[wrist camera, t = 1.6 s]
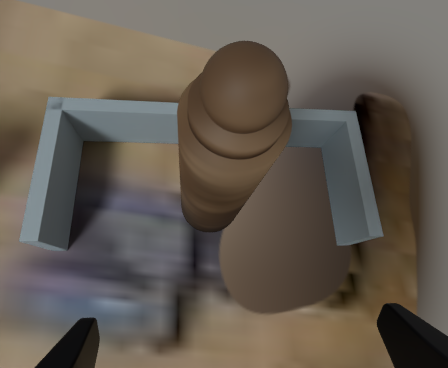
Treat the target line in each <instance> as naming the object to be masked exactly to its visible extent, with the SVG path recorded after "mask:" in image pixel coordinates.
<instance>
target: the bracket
mask: <svg viewBox="0 0 448 368" xmlns="http://www.w3.org/2000/svg"><path fill="white" fill-rule="evenodd" d="M178 104H179V103H170V102H148V101H127V100H105V99H84V98H62V97H49V98H48V103H47V108H46V113H45V117H44V122H43V127H42V132H41V137H40V142H39V147H38V152H37V156H36V161H35V166H34V171H33V176H32V181H31V186H30V191H29V195H28V200H27V205H26V210H25V215H24V220H23V225H22V230H21V234H20V239H19V242H23V243H26V244H30V245H34V246H37V247H41V248H45V249H48V250H52V251H63V250H68V243H69V236H70V229H71V223H72V216H73V209H74V202H75V195H76V189H77V182H78V175H79V168H80V161H81V155H82V148H83V141H105V142H140V143H176V144H178V124H177V108H178ZM289 110H290V113H291V118H292V130H291V135H290V138H289V141H288V143H287V145H286V146H285V147H317V148H318V147H319V148H321V151H322V156H323V162H324V168H325V175H326V181H327V187H328V193H329V199H330V205H331V211H332V217H333V223H334V230H335V236H336V242H337V245H351V244H355V243H359V242H362V241H366V240H370V239H374V238H378V237H382V236H383V232H382V227H381V223H380V218H379V214H378V209H377V205H376V200H375V196H374V191H373V187H372V182H371V178H370V173H369V169H368V164H367V160H366V155H365V151H364V146H363V142H362V137H361V133H360V128H359V124H358V119H357V115H356V111H342V110H320V109H299V108H289Z"/></svg>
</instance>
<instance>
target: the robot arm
mask: <svg viewBox="0 0 448 368" xmlns="http://www.w3.org/2000/svg"><path fill="white" fill-rule="evenodd" d="M377 327H378V330H379V333H380V335H381V337H382V340H383V342H384V344H385V346H386V349H387V351H388V353H389V356H390V358H391V360H392V363H393V365H394V367H395V368H448V336H446V335H445V334H443V333H442V332H440V331H439V330H437V329H436V328H434V327H433V326H431V325H430V324H428V323H427V322H425V321H424V320H422V319H421V318H419V317H418V316H416V315H415V314H413V313H412V312H410V311H409V310H407V309H406V308H404V307H403V306H401V305H400V304H397V303H387V304H384V305H383V307H382V309H381V312H380V314H379V317H378V319H377ZM99 341H100V336H99V330H98V325H97V320H96V318H81V319H80V320H78V321H77V322H76V323H75V325H74V326H73V327H72V328H71V329H70V330H69V331H68V332H67V333H66V334H65V335H64V336H63V338H62V339H61V340H60V341H59V342H58V343H57V344H56V345H55V346H54V347H53V348H52V349H51V350H50V352H49V353H48V354H47V355H46V356H45V357H44V358H43V359H42V360H41V361H40V362H39V363H38V365H37V366H36V367H35V368H95V363H96V358H97V353H98V348H99Z"/></svg>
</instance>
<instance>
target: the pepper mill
mask: <svg viewBox="0 0 448 368" xmlns="http://www.w3.org/2000/svg"><path fill="white" fill-rule="evenodd" d="M287 95H288V79H287V74H286V71H285V68H284V66H283V64H282V62H281V60H280V59H279V58H278V57H277V56H276V54H275V53H274V52H273V51H271V50H270V49H269V48H267V47H266V46H264V45H262V44H259V43H256V42H252V41H238V42H234V43H231V44H228V45H226V46H224V47H222V48H221V49H219V50H218V51H217V52H215V53H214V55H213V56H212V57H211V58H210V59H209V61H208V62H207V64H206V65H205V67H204V70H203V72H202V73H201V74H200V75H199V76H198V77H197V78H196V79H195V80H194V81H193V82H191V83H190V84H189V85H188V87H187V88H186V89H185V90H184V92H183V94H182V95H181V98H180V100H179V104H178V108H177V124H178V145H179V165H180V185H181V205H182V212H183V215H184V217H185V219H186V220H187V222H188V223H189V224H190V225H191V226H192V227H194V228H195V229H197V230H200V231H203V232H217V231H220V230H222V229H224V228H226V227H227V226H228V225H229V224H230V223H231V222H232V221H233V220H234V218H235V217H236V215H237V214H238V213H239V211H240V210H241V208H242V207H243V206H244V204H245V203H246V201H247V200H248V199H249V197H250V196H251V194H252V193H253V192H254V190H255V189H256V187H257V186H258V185H259V183H260V182H261V180H262V179H263V178H264V176H265V175H266V173H267V172H268V170H269V169H270V168H271V166H272V165H273V163H274V162H275V161H276V159H277V158H278V156H279V155H280V154H281V152H282V151H283V149H284V148H285V146H286V145H287V143H288V141H289V138H290V135H291V130H292V118H291V113H290V110H289V105H288V100H287Z"/></svg>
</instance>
